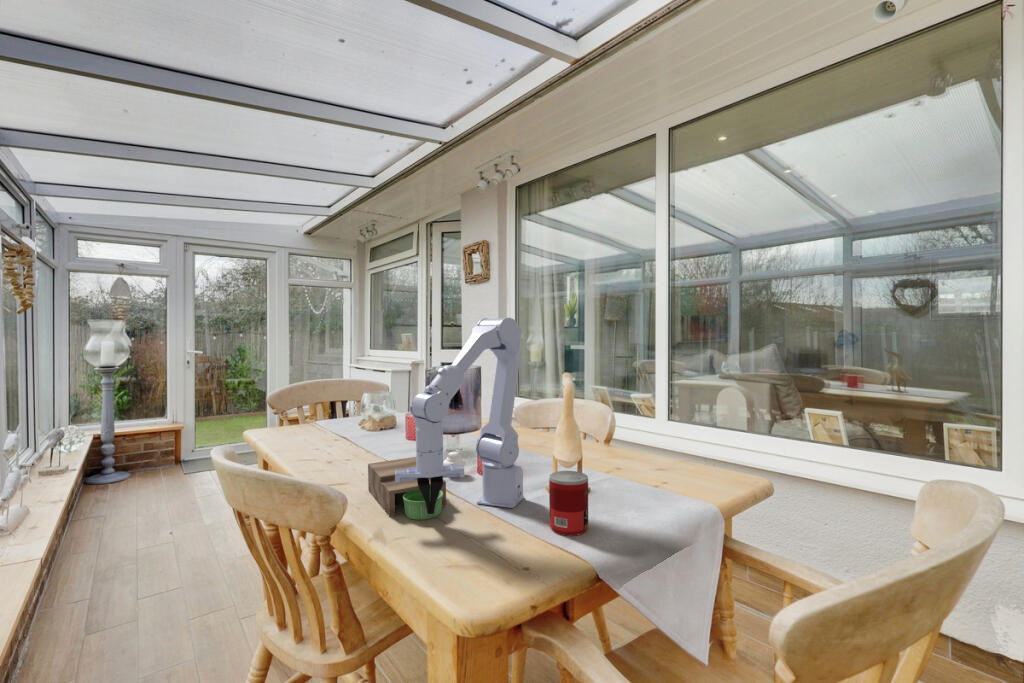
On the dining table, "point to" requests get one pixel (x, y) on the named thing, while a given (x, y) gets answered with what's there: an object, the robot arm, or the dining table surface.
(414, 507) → the ramekin
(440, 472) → the robot arm
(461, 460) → the white sugar bowl
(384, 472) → the walnut shelf
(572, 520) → the canned food
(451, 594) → the dining table surface
